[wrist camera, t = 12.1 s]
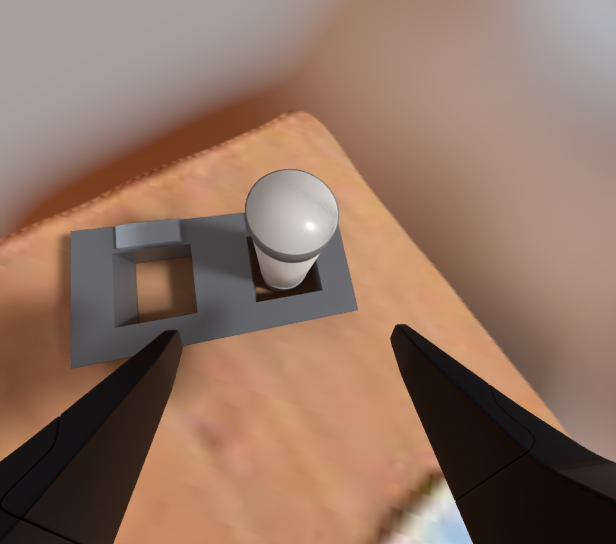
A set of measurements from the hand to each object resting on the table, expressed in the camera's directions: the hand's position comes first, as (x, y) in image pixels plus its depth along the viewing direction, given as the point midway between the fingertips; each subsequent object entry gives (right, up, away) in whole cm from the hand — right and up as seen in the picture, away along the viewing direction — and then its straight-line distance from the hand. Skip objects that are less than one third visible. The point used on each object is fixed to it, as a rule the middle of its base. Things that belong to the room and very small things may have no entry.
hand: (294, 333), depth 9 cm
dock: (-7, +2, +12) cm, 14 cm away
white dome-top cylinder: (-2, +3, +12) cm, 13 cm away
